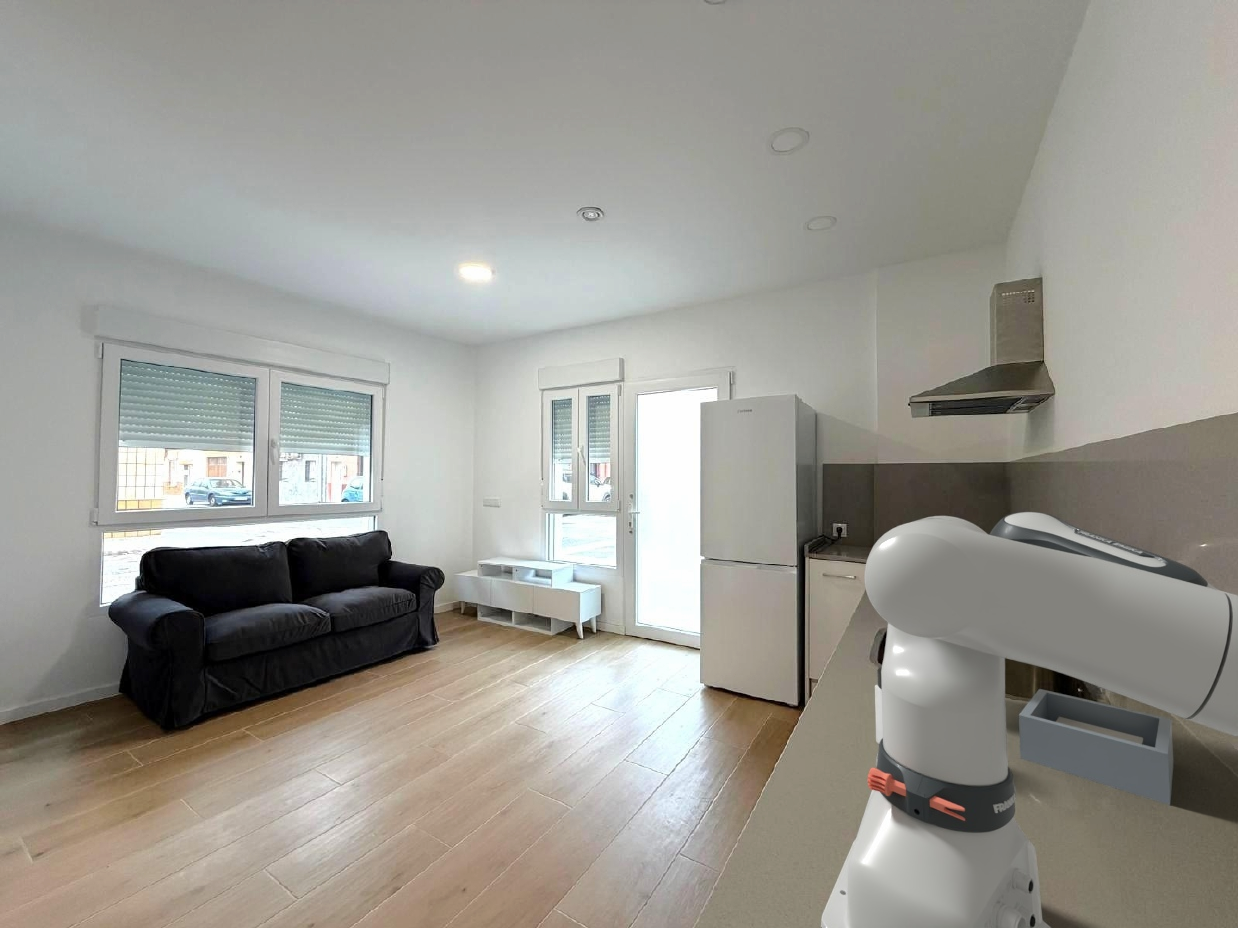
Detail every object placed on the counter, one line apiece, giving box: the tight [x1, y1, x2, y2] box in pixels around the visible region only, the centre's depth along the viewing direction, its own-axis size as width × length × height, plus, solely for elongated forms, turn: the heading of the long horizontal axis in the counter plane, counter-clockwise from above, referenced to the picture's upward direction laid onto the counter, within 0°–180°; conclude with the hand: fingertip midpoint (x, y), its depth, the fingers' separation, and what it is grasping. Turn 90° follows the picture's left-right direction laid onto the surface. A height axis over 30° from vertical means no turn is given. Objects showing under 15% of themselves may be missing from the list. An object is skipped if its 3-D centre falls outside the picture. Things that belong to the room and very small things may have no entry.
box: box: [1018, 688, 1174, 806], centre depth 80 cm, size 16×16×7 cm
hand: (927, 561), depth 104 cm, fingers closed on lid, 3 cm apart
